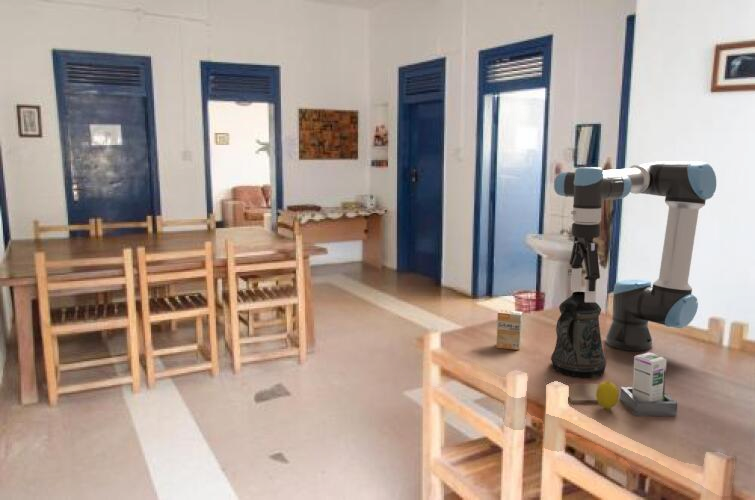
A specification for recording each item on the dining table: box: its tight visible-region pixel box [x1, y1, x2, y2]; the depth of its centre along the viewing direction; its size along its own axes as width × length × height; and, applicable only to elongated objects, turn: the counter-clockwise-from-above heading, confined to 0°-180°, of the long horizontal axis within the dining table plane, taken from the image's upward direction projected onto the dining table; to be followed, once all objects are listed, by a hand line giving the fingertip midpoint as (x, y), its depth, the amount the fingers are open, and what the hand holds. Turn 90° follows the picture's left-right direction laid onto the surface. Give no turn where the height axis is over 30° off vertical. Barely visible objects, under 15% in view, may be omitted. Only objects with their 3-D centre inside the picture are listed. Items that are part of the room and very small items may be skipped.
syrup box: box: [632, 351, 667, 402], centre depth 152 cm, size 6×6×14 cm
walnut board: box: [565, 383, 600, 405], centre depth 162 cm, size 11×11×1 cm
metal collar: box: [619, 386, 678, 417], centre depth 153 cm, size 10×10×4 cm
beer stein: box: [550, 291, 607, 380], centre depth 177 cm, size 16×19×25 cm
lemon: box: [596, 380, 620, 410], centre depth 152 cm, size 6×6×8 cm
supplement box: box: [495, 309, 524, 351], centre depth 200 cm, size 8×5×13 cm, turn 68°
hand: (582, 295), depth 164 cm, fingers open, 13 cm apart
